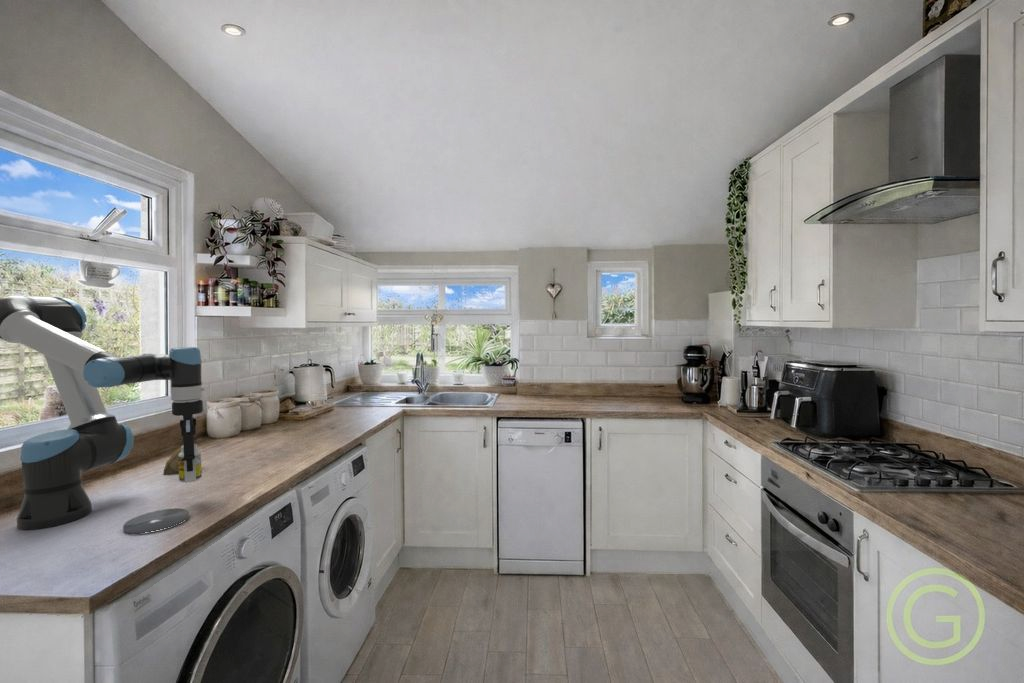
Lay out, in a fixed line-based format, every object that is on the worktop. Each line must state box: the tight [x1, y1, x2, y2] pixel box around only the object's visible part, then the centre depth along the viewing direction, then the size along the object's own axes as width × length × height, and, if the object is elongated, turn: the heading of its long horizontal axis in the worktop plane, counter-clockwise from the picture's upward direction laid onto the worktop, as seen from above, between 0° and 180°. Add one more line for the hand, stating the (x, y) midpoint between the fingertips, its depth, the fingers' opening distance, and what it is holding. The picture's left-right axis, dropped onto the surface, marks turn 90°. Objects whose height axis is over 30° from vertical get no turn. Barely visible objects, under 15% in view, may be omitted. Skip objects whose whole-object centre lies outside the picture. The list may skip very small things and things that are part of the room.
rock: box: [162, 446, 181, 475], centre depth 178 cm, size 10×8×10 cm
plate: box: [122, 507, 190, 535], centre depth 130 cm, size 14×14×1 cm
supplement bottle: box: [178, 443, 203, 483], centre depth 144 cm, size 6×6×10 cm
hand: (190, 478), depth 144 cm, fingers closed on supplement bottle, 6 cm apart
